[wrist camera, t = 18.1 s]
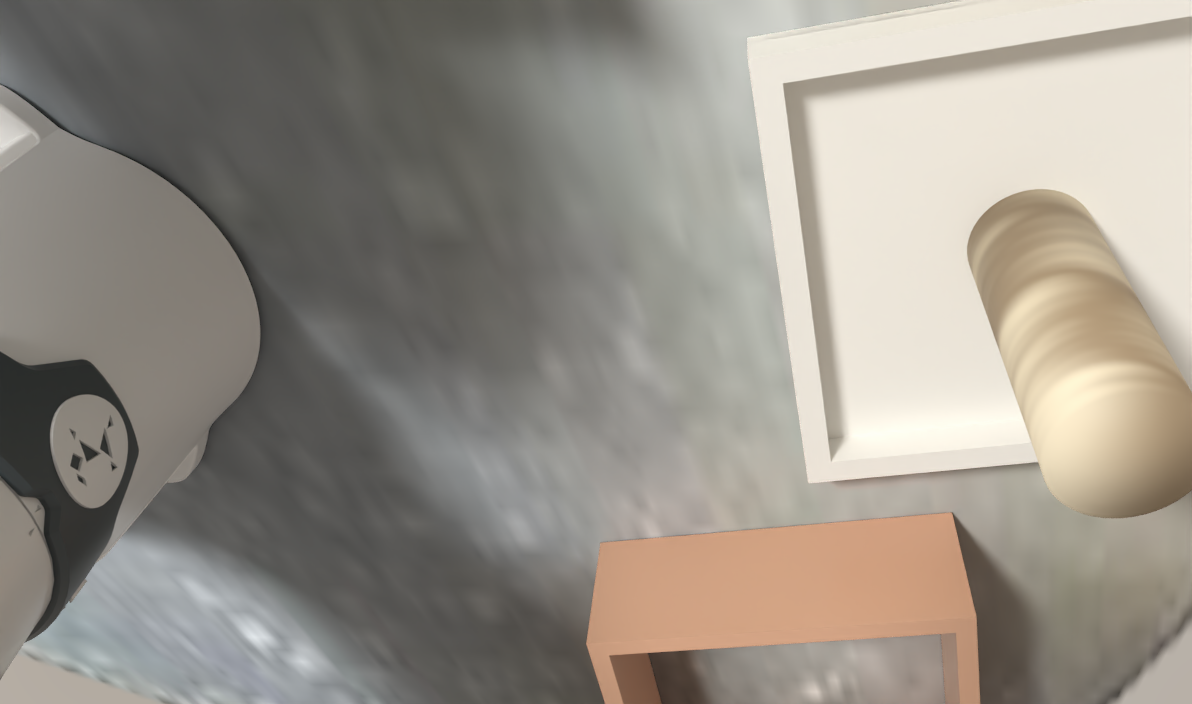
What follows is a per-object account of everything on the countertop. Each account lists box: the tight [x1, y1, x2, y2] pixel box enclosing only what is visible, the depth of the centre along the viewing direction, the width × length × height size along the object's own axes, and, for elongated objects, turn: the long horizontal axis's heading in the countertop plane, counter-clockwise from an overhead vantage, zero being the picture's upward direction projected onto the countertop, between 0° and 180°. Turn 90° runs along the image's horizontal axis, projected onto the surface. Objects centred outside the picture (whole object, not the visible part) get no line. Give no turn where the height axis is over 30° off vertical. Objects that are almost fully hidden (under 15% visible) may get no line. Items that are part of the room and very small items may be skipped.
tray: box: [747, 0, 1192, 483], centre depth 40 cm, size 18×18×2 cm
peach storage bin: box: [586, 513, 980, 704], centre depth 52 cm, size 16×16×6 cm
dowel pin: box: [967, 189, 1192, 518], centre depth 35 cm, size 4×4×12 cm
